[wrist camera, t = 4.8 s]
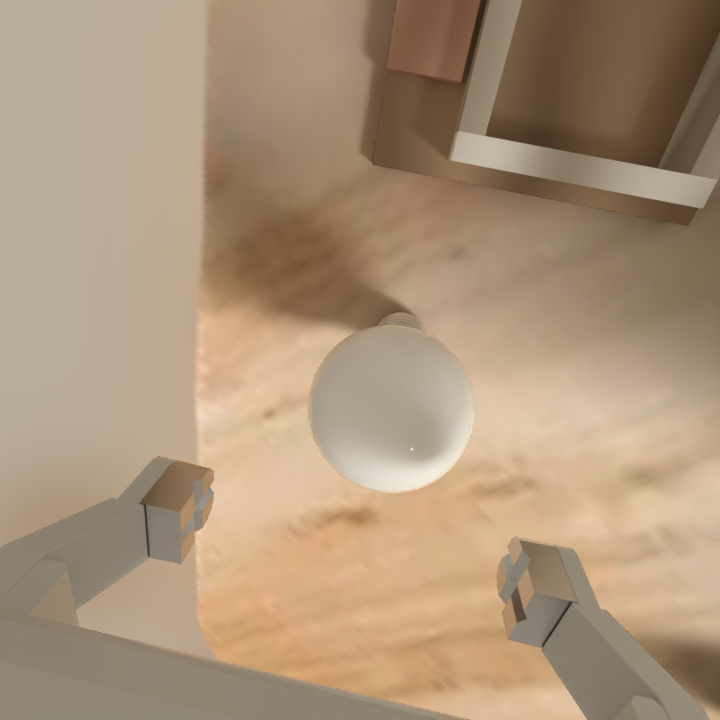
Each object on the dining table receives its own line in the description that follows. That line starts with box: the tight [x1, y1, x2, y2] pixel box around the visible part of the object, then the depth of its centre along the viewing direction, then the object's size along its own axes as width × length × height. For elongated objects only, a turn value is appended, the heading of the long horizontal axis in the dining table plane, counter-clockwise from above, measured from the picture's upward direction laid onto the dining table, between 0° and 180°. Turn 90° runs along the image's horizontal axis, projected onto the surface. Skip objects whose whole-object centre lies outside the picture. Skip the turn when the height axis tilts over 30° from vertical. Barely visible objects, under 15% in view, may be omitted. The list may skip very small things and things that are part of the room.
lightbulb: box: [308, 312, 475, 493], centre depth 18 cm, size 6×6×11 cm
